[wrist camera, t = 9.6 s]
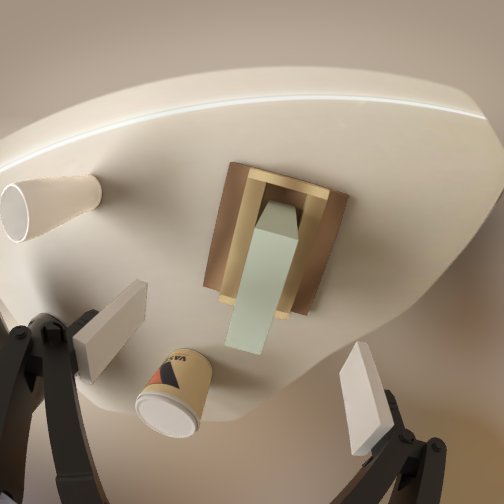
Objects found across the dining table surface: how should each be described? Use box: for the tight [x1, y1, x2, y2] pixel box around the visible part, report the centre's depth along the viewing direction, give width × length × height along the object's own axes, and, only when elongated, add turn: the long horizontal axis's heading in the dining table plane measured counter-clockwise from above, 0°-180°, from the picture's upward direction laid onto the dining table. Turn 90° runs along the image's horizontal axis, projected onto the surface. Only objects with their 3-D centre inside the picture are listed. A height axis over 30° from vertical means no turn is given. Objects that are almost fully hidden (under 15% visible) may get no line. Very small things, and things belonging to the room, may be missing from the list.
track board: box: [203, 162, 349, 320], centre depth 33 cm, size 14×16×4 cm
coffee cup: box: [135, 349, 212, 438], centre depth 37 cm, size 9×9×12 cm
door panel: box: [224, 200, 298, 355], centre depth 27 cm, size 3×10×14 cm, turn 166°
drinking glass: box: [0, 175, 102, 243], centre depth 29 cm, size 7×7×15 cm
